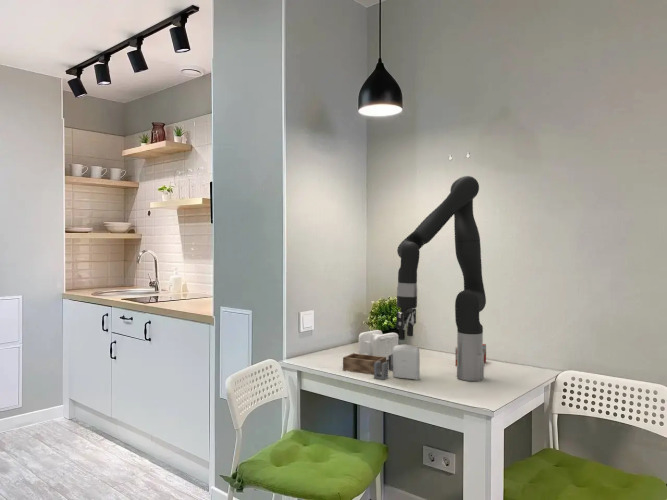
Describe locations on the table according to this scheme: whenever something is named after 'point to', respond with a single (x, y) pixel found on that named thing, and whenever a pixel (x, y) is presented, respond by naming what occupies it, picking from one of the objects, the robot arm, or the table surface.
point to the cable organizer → (377, 343)
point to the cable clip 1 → (378, 370)
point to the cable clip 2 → (390, 362)
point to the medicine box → (483, 351)
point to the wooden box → (361, 363)
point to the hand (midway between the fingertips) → (405, 337)
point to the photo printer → (406, 362)
